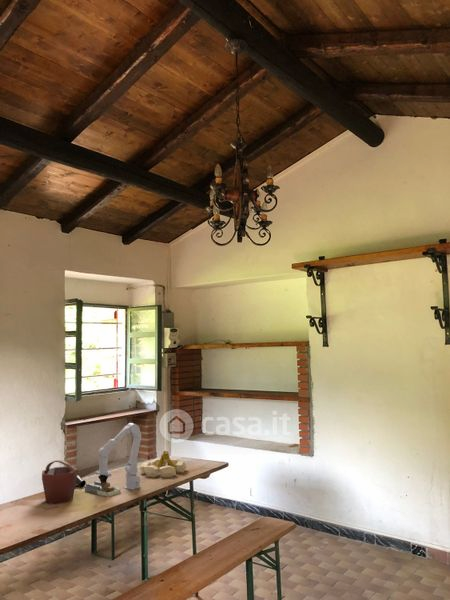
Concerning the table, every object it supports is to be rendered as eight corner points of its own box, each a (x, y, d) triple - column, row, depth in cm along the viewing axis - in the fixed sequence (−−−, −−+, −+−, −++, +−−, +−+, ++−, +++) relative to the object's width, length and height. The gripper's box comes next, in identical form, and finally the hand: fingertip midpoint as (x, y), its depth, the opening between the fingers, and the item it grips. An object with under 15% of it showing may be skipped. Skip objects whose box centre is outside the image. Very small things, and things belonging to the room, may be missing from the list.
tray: (120, 492, 317) (120, 488, 317) (107, 497, 308) (107, 493, 308) (109, 490, 323) (109, 486, 324) (96, 494, 315) (96, 490, 315)
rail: (109, 490, 323) (109, 483, 323) (97, 494, 315) (97, 487, 316) (96, 487, 331) (96, 480, 332) (84, 490, 323) (84, 484, 324)
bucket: (83, 499, 304) (83, 460, 307) (50, 508, 288) (50, 467, 291) (65, 492, 321) (65, 455, 324) (33, 500, 305) (34, 461, 308)
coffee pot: (80, 483, 342) (87, 486, 336) (58, 493, 327) (65, 497, 322) (80, 473, 341) (87, 476, 336) (58, 482, 326) (65, 486, 321)
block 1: (109, 488, 317) (110, 482, 318) (105, 490, 314) (105, 484, 314) (106, 487, 320) (106, 481, 320) (101, 488, 317) (101, 483, 317)
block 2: (110, 491, 318) (113, 492, 315) (105, 492, 314) (109, 494, 312) (110, 485, 318) (114, 486, 315) (105, 486, 315) (109, 488, 312)
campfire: (166, 480, 344) (165, 456, 346) (132, 475, 362) (131, 452, 363) (193, 469, 374) (193, 447, 376) (160, 465, 391) (160, 444, 393)
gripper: (92, 465, 322) (92, 486, 321) (105, 468, 313) (105, 489, 312) (100, 463, 328) (100, 483, 326) (113, 466, 319) (113, 486, 317)
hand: (103, 486), depth 319 cm, fingers closed
